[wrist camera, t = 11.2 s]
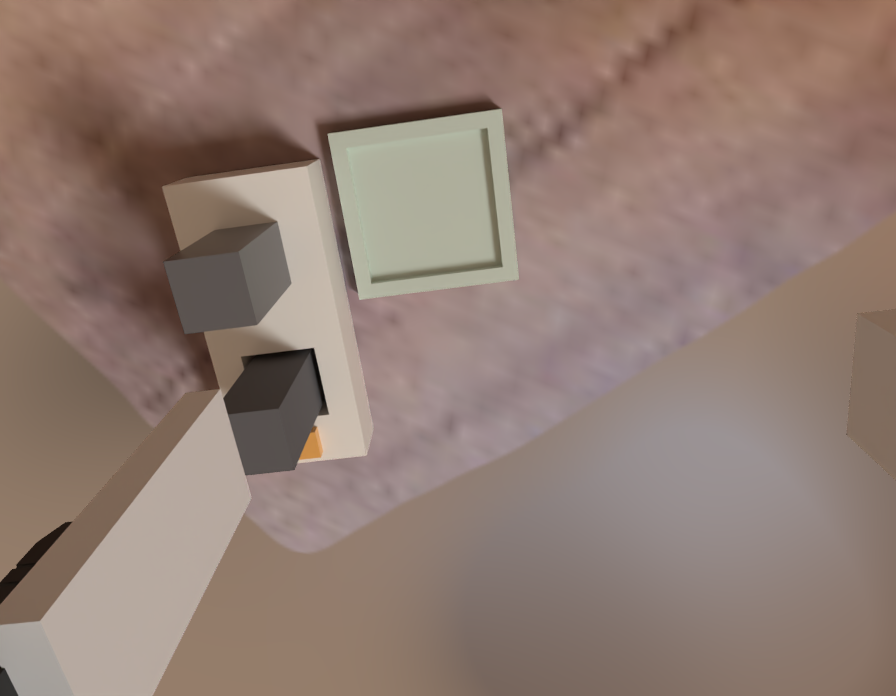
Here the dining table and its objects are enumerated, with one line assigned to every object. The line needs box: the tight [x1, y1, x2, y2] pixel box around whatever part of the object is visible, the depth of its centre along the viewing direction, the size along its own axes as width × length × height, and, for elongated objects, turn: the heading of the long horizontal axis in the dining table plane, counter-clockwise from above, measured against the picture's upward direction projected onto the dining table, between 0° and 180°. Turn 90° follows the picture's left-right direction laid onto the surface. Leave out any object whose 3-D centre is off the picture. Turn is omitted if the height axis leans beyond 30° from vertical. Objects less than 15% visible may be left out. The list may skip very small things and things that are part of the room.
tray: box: [328, 108, 519, 300], centre depth 45 cm, size 11×11×1 cm
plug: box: [223, 348, 325, 475], centre depth 44 cm, size 4×4×11 cm
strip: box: [162, 159, 374, 463], centre depth 43 cm, size 20×9×12 cm, turn 8°
